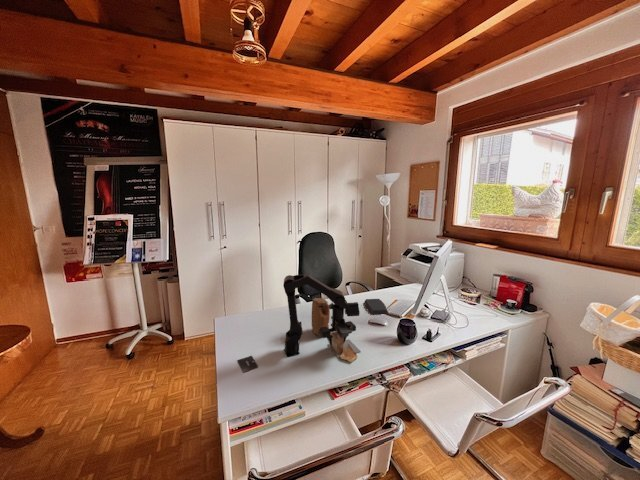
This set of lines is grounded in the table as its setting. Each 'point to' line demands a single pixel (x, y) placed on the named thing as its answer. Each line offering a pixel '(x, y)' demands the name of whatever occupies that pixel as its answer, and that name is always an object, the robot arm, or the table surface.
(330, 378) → the table surface
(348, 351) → the shard
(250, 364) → the solid state drive
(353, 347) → the mat
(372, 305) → the external hard drive
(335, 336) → the slab
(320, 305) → the brown oblong lump
